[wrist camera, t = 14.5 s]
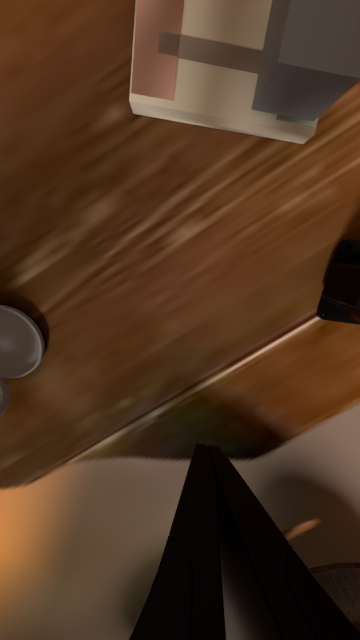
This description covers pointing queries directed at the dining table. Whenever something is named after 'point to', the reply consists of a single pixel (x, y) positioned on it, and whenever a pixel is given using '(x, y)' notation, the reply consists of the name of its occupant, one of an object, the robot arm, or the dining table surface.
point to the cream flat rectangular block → (205, 66)
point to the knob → (308, 57)
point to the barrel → (342, 587)
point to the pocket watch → (17, 348)
